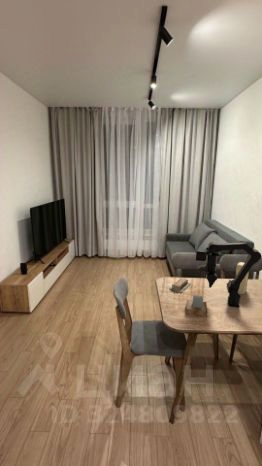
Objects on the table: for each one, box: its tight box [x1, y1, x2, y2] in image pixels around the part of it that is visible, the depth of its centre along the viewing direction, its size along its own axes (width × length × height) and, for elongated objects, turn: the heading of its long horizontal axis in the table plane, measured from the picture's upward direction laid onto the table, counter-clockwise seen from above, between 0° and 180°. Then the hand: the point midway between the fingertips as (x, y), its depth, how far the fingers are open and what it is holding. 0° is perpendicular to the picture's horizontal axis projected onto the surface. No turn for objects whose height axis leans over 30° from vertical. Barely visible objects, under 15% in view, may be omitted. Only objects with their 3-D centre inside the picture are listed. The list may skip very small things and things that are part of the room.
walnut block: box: [185, 299, 209, 318], centre depth 154 cm, size 12×12×4 cm
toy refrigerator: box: [235, 261, 250, 295], centre depth 181 cm, size 8×7×21 cm
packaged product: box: [169, 278, 192, 294], centre depth 188 cm, size 18×5×10 cm
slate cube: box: [192, 294, 204, 308], centre depth 153 cm, size 6×6×6 cm
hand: (209, 284), depth 164 cm, fingers open, 9 cm apart
